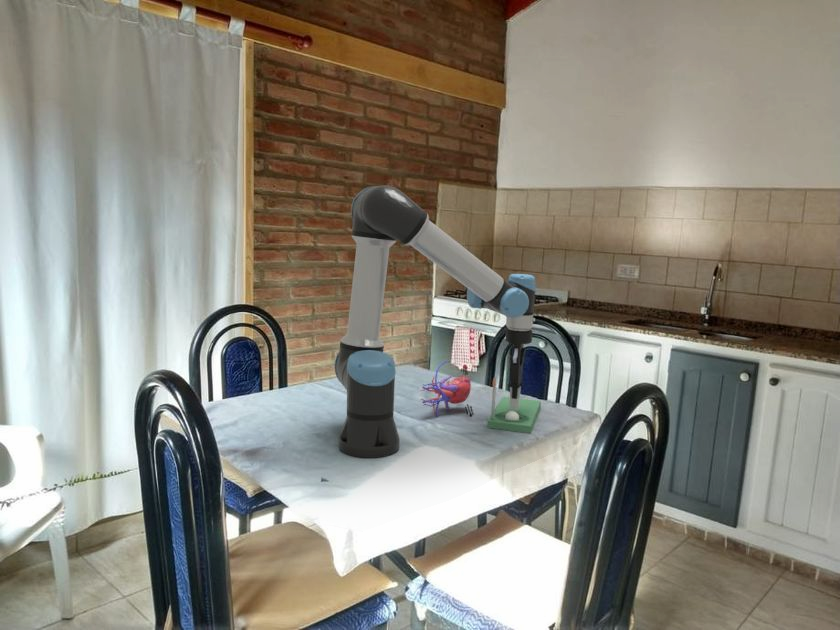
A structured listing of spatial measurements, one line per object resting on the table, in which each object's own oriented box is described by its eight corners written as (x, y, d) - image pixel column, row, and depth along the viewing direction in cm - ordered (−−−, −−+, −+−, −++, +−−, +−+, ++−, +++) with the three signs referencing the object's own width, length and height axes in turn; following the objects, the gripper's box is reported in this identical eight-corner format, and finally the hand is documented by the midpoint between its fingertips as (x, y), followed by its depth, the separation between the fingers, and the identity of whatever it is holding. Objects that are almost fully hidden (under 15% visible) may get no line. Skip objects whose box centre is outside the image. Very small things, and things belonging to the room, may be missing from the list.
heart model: (484, 416, 193) (440, 417, 179) (460, 417, 200) (415, 417, 185) (482, 359, 196) (438, 356, 182) (458, 362, 203) (413, 359, 188)
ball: (519, 427, 183) (517, 424, 179) (504, 426, 184) (503, 422, 180) (520, 414, 184) (519, 410, 181) (506, 412, 185) (505, 408, 182)
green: (529, 434, 175) (533, 384, 173) (486, 429, 178) (488, 379, 176) (540, 407, 201) (543, 363, 198) (502, 402, 204) (504, 359, 202)
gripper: (529, 333, 176) (524, 416, 180) (535, 326, 189) (529, 403, 192) (502, 331, 178) (497, 413, 182) (509, 323, 191) (504, 401, 194)
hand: (514, 408), depth 187 cm, fingers closed
